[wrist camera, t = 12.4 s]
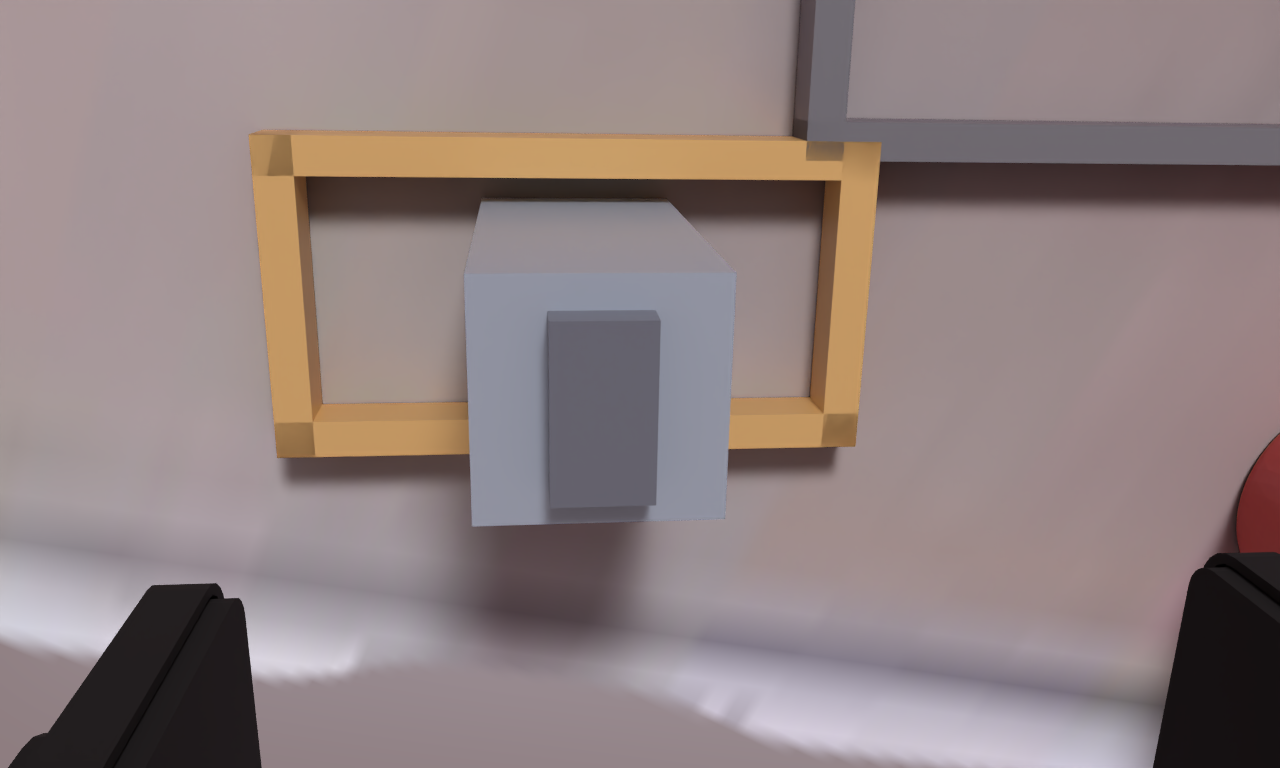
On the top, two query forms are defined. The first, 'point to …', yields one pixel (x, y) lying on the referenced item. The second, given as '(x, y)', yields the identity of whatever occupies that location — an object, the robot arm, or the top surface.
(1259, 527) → the flower pot
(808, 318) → the top surface
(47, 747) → the robot arm
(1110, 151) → the tan grey double frame
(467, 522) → the top surface
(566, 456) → the plug
